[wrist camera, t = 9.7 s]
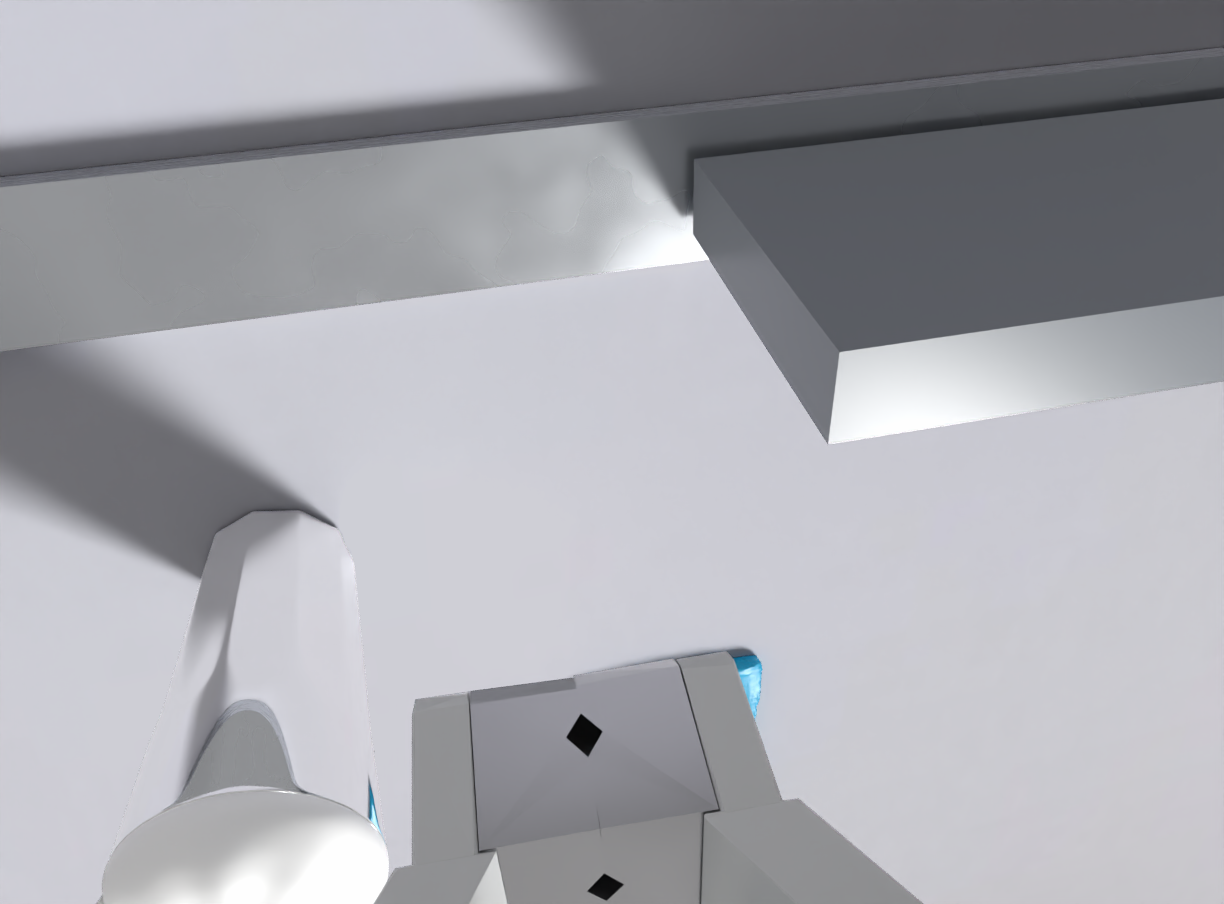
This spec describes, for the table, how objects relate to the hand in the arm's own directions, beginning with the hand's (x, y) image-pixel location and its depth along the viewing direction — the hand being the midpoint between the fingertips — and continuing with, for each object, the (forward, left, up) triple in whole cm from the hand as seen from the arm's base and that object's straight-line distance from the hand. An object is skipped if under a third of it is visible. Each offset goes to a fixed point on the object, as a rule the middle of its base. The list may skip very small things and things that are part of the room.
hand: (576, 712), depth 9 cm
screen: (-14, 0, -12) cm, 18 cm away
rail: (-4, 0, -12) cm, 12 cm away
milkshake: (+6, +8, -12) cm, 15 cm away
